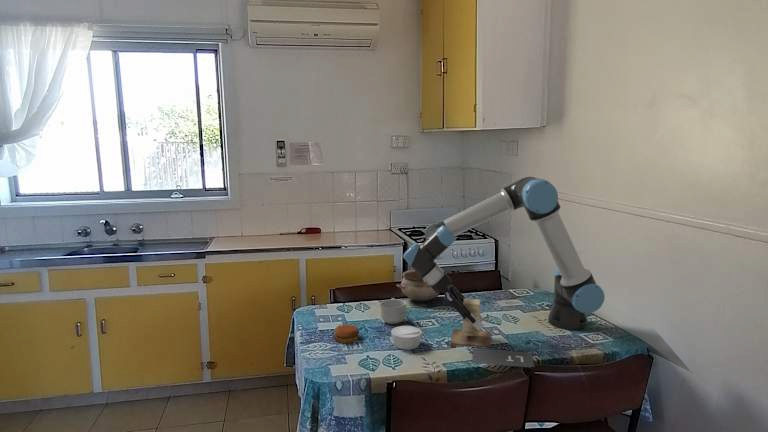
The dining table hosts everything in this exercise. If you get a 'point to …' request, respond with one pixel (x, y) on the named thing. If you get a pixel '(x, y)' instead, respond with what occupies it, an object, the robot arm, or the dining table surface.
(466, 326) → the maple block
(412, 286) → the cooking pot
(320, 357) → the dining table surface
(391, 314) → the teacup
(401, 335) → the ramekin
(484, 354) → the mat
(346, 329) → the burger
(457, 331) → the walnut board
